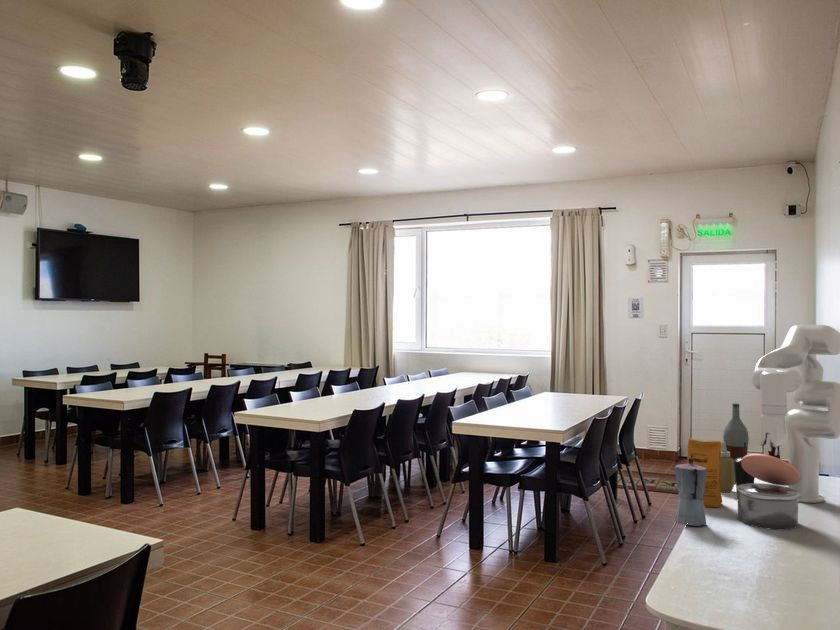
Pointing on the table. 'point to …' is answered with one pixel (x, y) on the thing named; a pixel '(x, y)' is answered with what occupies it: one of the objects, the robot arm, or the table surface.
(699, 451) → the coffee package
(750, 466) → the lid
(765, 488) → the cooker pot
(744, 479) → the drinking cup
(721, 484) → the squeeze bottle
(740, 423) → the green wine bottle
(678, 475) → the moka pot
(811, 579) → the table surface
